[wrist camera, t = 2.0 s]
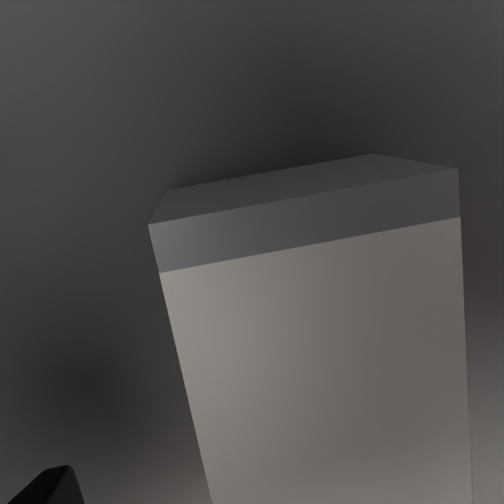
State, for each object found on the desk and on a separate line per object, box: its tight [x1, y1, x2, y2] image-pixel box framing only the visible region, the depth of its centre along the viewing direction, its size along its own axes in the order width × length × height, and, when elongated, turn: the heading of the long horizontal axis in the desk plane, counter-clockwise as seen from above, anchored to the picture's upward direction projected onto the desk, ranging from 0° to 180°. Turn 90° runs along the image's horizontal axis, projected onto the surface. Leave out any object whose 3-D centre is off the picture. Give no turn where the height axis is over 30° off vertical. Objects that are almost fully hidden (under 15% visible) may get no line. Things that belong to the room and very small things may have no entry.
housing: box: [148, 153, 473, 504], centre depth 10 cm, size 8×5×4 cm, turn 9°
